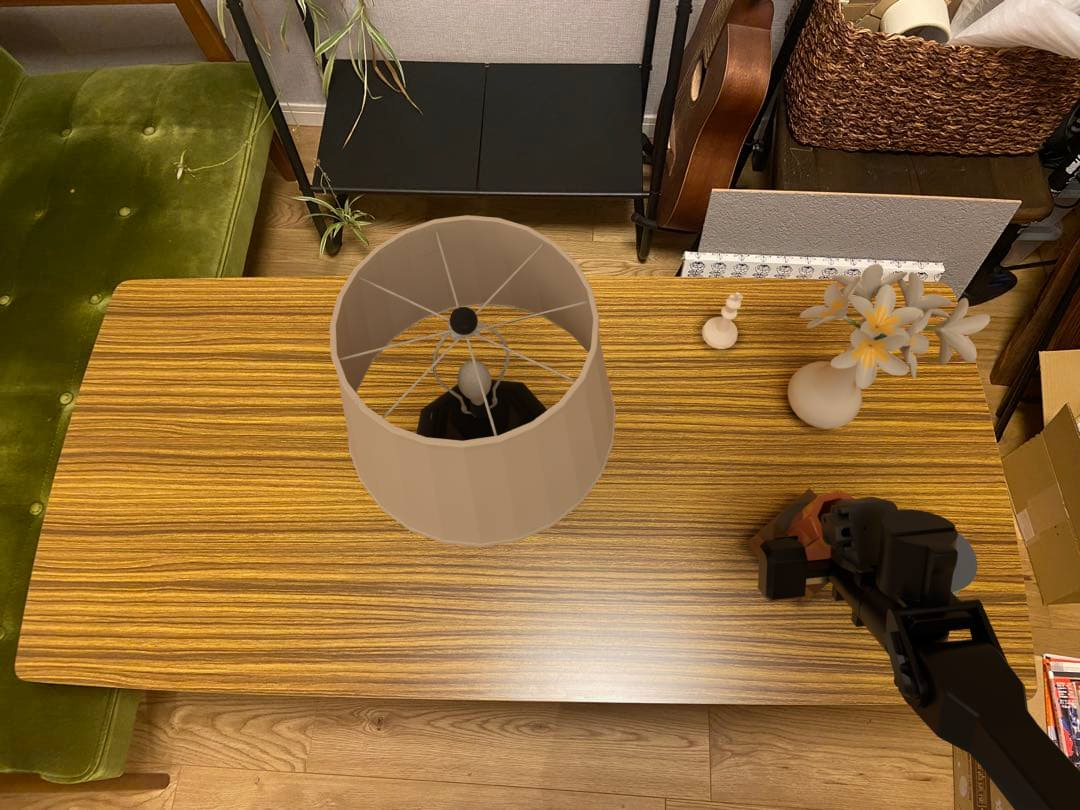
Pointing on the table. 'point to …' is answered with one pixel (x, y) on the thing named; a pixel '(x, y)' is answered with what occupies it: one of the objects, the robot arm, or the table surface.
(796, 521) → the terracotta octagonal pot
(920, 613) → the robot arm
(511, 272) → the table lamp
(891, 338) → the flower vase
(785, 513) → the coaster stand
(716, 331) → the chess piece
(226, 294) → the table surface
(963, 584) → the disc stack
